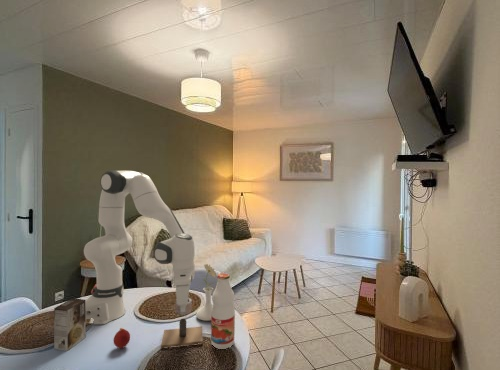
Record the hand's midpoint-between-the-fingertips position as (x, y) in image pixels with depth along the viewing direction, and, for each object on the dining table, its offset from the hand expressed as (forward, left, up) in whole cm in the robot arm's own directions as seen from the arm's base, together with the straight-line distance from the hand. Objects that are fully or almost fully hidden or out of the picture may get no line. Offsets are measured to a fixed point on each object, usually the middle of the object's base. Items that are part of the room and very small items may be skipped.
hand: (183, 306), depth 110 cm
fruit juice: (+16, -6, -14) cm, 22 cm away
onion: (-23, -2, -14) cm, 27 cm away
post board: (0, 0, -14) cm, 14 cm away
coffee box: (-44, +5, -14) cm, 47 cm away
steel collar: (0, 0, -2) cm, 2 cm away
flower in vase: (+11, +17, -14) cm, 24 cm away
